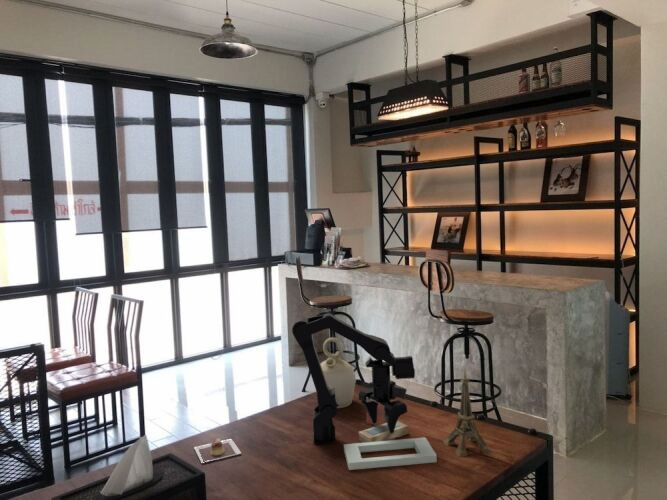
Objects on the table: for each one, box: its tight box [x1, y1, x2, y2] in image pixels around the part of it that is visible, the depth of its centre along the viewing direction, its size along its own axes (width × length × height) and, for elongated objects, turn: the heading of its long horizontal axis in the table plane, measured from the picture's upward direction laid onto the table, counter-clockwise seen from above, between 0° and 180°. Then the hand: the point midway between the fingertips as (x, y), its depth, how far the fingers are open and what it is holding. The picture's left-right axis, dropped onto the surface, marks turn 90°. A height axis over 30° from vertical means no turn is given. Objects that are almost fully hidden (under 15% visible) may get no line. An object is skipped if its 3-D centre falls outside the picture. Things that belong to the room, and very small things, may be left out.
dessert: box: [193, 437, 242, 464], centre depth 165 cm, size 12×12×5 cm
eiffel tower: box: [442, 369, 493, 458], centre depth 160 cm, size 11×11×25 cm
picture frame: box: [358, 420, 409, 443], centre depth 170 cm, size 15×6×3 cm, turn 122°
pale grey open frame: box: [343, 437, 438, 471], centre depth 157 cm, size 25×12×2 cm, turn 95°
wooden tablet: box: [365, 399, 393, 427], centre depth 192 cm, size 27×10×2 cm, turn 176°
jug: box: [315, 336, 356, 409], centre depth 201 cm, size 15×16×25 cm
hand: (383, 427), depth 170 cm, fingers open, 9 cm apart
